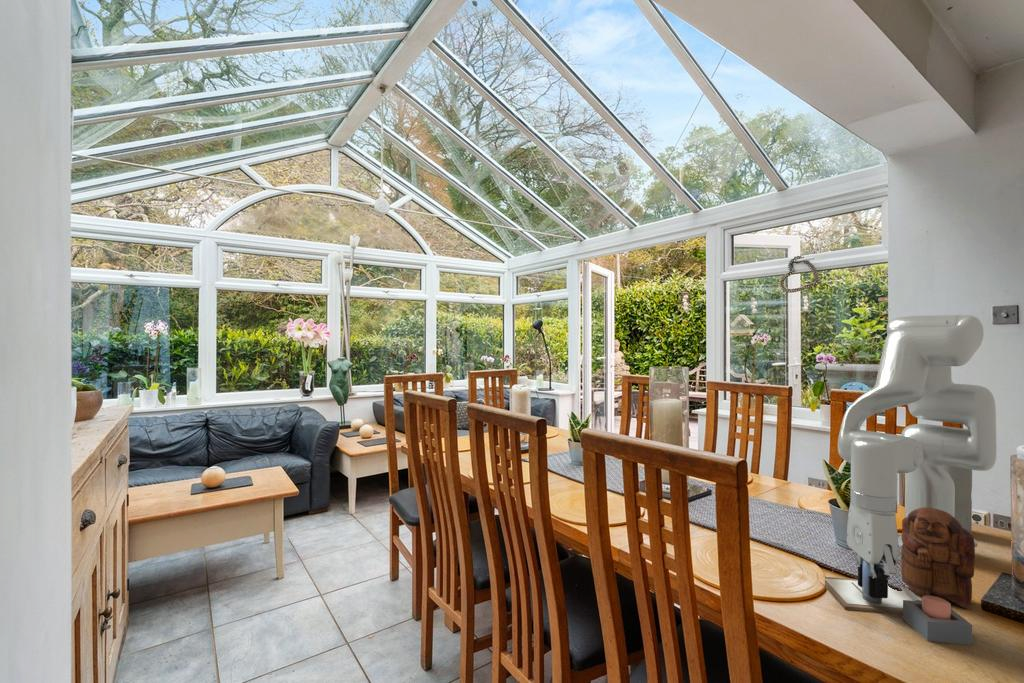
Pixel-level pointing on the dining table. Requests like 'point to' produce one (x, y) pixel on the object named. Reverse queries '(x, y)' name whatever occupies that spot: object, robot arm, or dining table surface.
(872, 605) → the clipboard
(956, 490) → the thermos bottle
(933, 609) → the button
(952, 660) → the dining table surface
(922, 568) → the wooden figurine
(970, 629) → the button housing
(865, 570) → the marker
